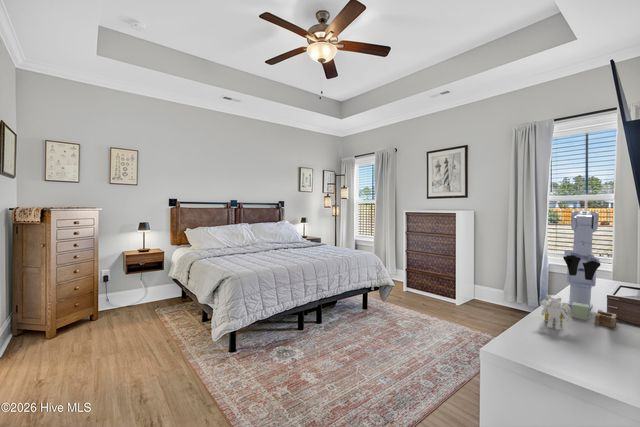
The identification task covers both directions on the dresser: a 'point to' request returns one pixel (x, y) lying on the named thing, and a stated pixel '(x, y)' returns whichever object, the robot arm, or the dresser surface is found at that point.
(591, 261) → the robot arm
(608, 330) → the dresser surface
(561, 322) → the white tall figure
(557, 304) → the blocky character figurine
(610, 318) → the walnut channel
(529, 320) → the dresser surface
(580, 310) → the sage block
